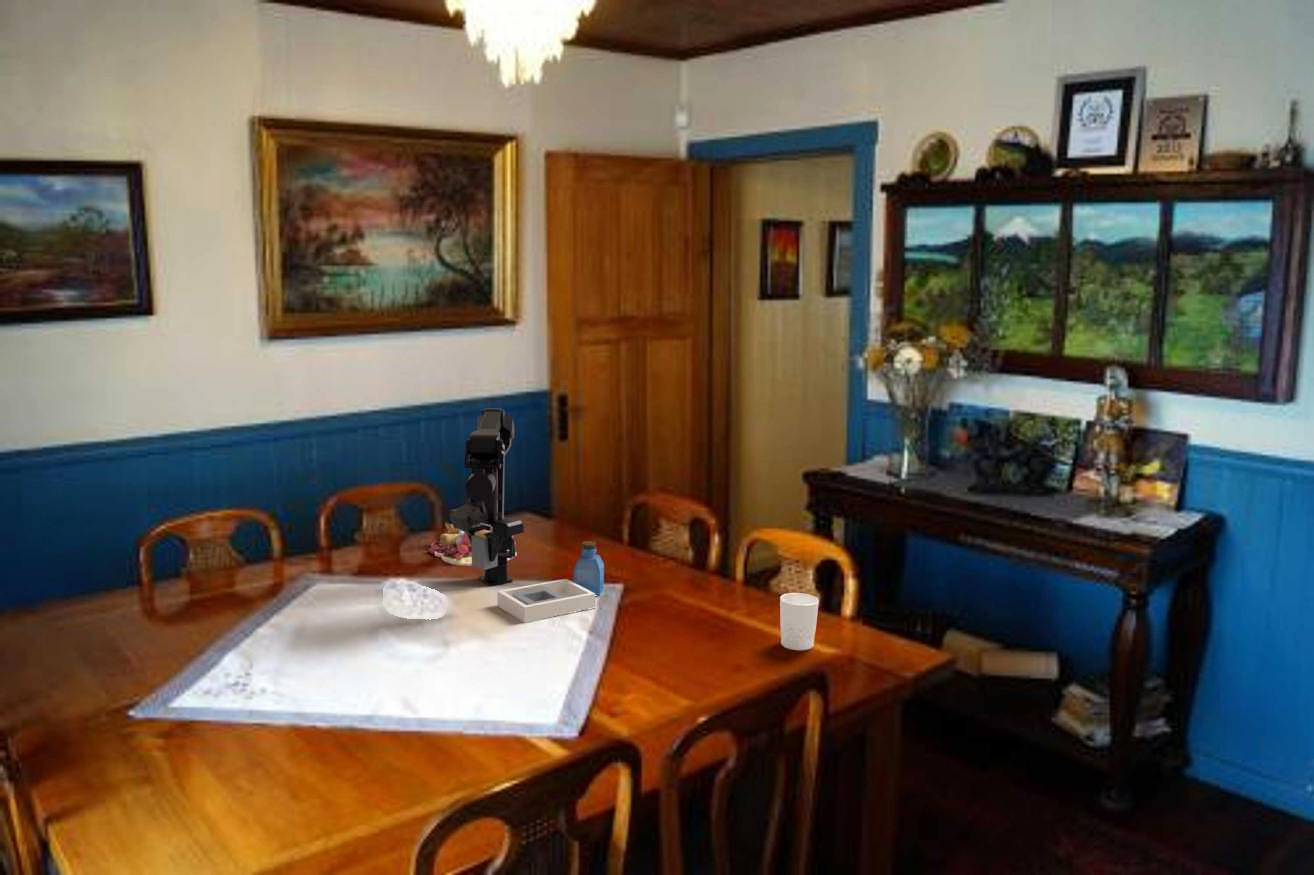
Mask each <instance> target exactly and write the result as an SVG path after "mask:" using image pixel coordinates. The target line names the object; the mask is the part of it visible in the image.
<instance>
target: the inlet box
mask: <svg viewBox="0 0 1314 875" xmlns="http://www.w3.org/2000/svg"><path fill="white" fill-rule="evenodd" d="M496 595H497V607H499V608H500V609H502V610H504V611H505V612H506V613H508V614H510V615H511V616H513V617H515V618H516V619H518V620H519V621H521V622H523V623H524V624H525V623H530V622H536V621H541V620H545V619H544V618H546V619H549V618H548V617H551V618H555V617H554V616H556V617H558V616H557V615H561V616H563V615H562V614H566V615H568V614H567V613H570V612H574V611H578V610H584V609H588V608H593V607H595V608H596V597H595V593H593V592H591V591H589V590H587V589H585V588H583V587H582V586H580V585H578V584H576V583H574V581H572V580H569V579H568V578H564V579H557V580H551V581H547V582H541V583H536V584H535V583H534V584H529V585H525V586H518V587H512V588H508V589H500V590H497V594H496Z"/></svg>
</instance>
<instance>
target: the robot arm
mask: <svg viewBox="0 0 1314 875" xmlns="http://www.w3.org/2000/svg"><path fill="white" fill-rule="evenodd" d="M513 439H515V423H514V418H513V417H512V416H510V415H509V414H507V413H506V412H505V410H504V409H502V408H498V407H497V408H496V407H495V408H491V407H490V408H484V409H482V410H481V415H480V416H479V417H478V418H477V429H476V430H473V431H472V432H470V435H469V438H466V442H465V454H464V465H463V468H464V469H470V470H471V472H470V473H471V474H470V476H469V478H468V479H467V481H466V482H465V483H466V484H465V487H464V488H465V493H466V496H467V497H466V503H465V504H463V505H461V506H460V507H458V508H455V509H451V510H449V511H448V512H447V514H446V522H447V523H449V524H453V527H454V528H455V529H457V528H458V529H460V530H462V531H463V532H465V533H466V534H467V536H468V538H469V540H470V543H471V546H472V536H473V535H475V532H478V531H481V530H488V531H490V532H489V533H485V534H484V535H485V537H486V538H487V539H488V550H489V561H490V562H492V561H494V560H495V558H496V556H497V554H498V566H496V567H493V568H489V569H486V570H483V575H480V576H478V577H477V579H478V580H479V581H481V582H483V584H486V585H488V586H495V585H500V584H506V583H510V582H513V581H514V579H513V578H511V577H510V576H508V560H507V558H510V560H512V559H513V558H515V557H516V556H515V551H516V544H515V542H516V540H515V538H514V536H516V535H519V534H520V535H521V534H524V530H525V529H524V525H525V524H524V522H523V521H522V520H521V519H517V518H513V517H507V518H505V516H504V513H505V511H504V509H505V464H506V463H505V462H506V460H505V457H506V454H507V453H508V452H509V450H510V448H511V447H512V440H513ZM512 536H513V537H512ZM507 550H509V551H507ZM512 557H513V558H512Z"/></svg>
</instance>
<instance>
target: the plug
mask: <svg viewBox="0 0 1314 875" xmlns="http://www.w3.org/2000/svg"><path fill="white" fill-rule="evenodd" d="M489 532H490V531H488V530H481V531H478V532H475V535H473V536H472V565H471V567H473V568H475V569H479V570H483V571H484V570H486V569H489V568H493V567H496V566H498V554H497V556H496V558H495V560H494V561H492V562H490V561H489V550H488V539H487V538H486V537H485V535H484V534H485V533H489Z"/></svg>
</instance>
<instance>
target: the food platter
mask: <svg viewBox="0 0 1314 875" xmlns="http://www.w3.org/2000/svg"><path fill="white" fill-rule="evenodd" d="M444 526H445V527H446V529H447V530H448V531H447V532H446V533H441V534H440V536H438V537H437V539H436V540H434V541H433V542H431V544H429V546H428V550H427V552H428V553H430V554H431V555H432V554H434V556H435V557H439V558H441V561H444V562H445V563H449V564H450V565H453V566H455V565H456V566H464V567H465V566H467V567H468V566H470V567H472V546H471V543H470V540H469V538H468V536H467V534H466V533H465V532H463V531H462V530H460V529H458V528H457V529H455V528H454V527H453V524H449V523H447V521H446V522H445V523H444ZM512 537H513V538H514V535H513V536H512ZM516 543H517V542H516V541H515V545H517V544H516ZM507 551H509V550H507ZM517 554H518V553H517V551H516V550H515V557H517ZM513 558H514V557H512V559H513ZM510 560H511V559H510V558H507V561H510Z"/></svg>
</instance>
